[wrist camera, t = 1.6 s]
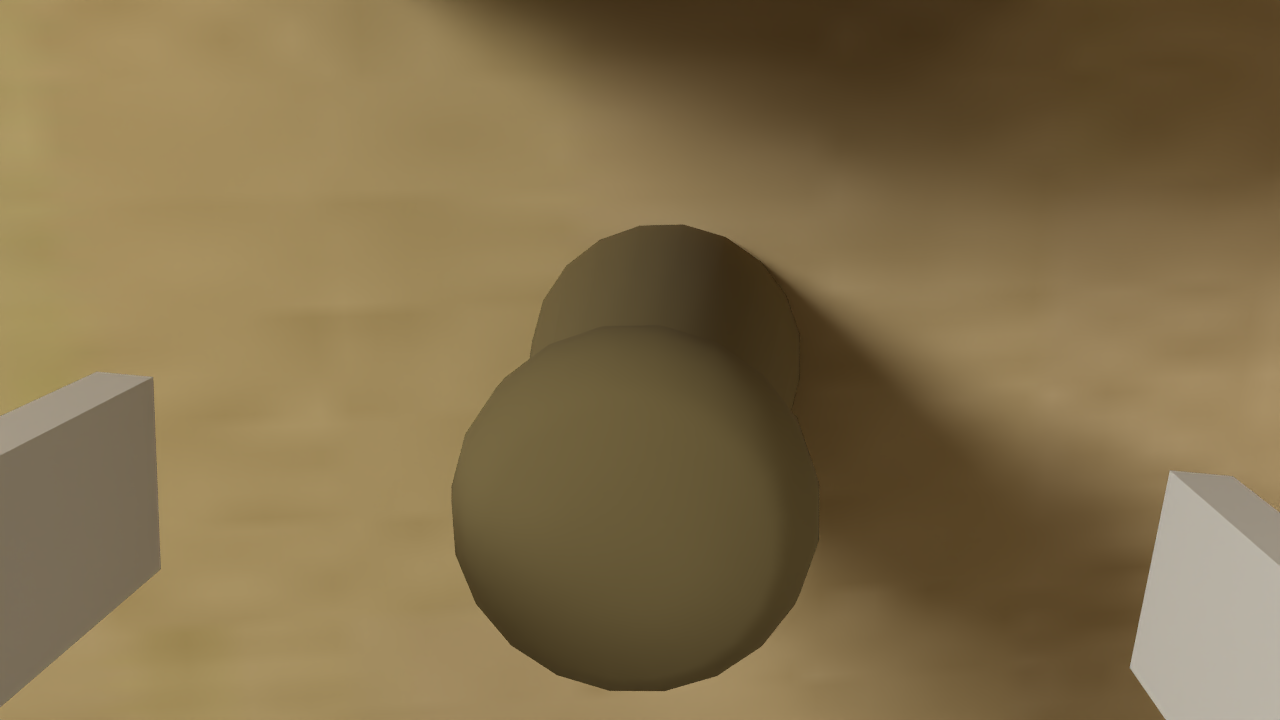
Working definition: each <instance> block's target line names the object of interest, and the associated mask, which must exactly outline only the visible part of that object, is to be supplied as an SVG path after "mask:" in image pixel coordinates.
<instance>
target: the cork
mask: <svg viewBox="0 0 1280 720" xmlns="http://www.w3.org/2000/svg"><path fill="white" fill-rule="evenodd" d="M799 378H800V335H799V332H798V329H797V326H796V323H795V320H794V317H793V314H792V311H791V308H790V305H789V302H788V299H787V296H786V295H785V293H784V292H783V291H782V289H781V288H780V287H779V285H778V284H777V283H776V281H775V280H774V279H773V277H772V276H771V275H770V273H769V272H768V271H767V270H766V268H765V267H764V266H763V264H762V263H761V262H760V261H759V260H757V259H756V258H755V257H753V256H752V255H750V254H749V253H747V252H746V251H744V250H743V249H742V248H740V247H739V246H737V245H736V244H734V243H733V242H731V241H730V240H729V239H727V238H726V237H723V236H720V235H716V234H713V233H710V232H706V231H703V230H700V229H696V228H693V227H690V226H686V225H651V226H638V227H635V228H632V229H630V230H627V231H624V232H621V233H618V234H616V235H613V236H610V237H607V238H604V239H601V240H599V241H598V242H597V243H595V244H594V245H593V246H592V247H590V248H589V249H588V250H586V251H585V252H584V253H583V254H581V255H580V256H579V257H577V258H576V259H575V260H573V261H572V262H571V263H570V264H568V265H567V266H566V267H565V269H564V270H563V272H562V273H561V275H560V276H559V278H558V279H557V281H556V282H555V284H554V285H553V287H552V288H551V290H550V291H549V293H548V294H547V296H546V297H545V299H544V300H543V304H542V307H541V311H540V315H539V318H538V322H537V326H536V329H535V333H534V337H533V341H532V347H531V353H530V359H529V360H528V361H526V362H525V363H524V364H522V365H521V366H520V367H518V368H517V369H516V370H515V371H513V372H512V373H511V374H509V375H508V376H507V377H505V378H504V379H503V381H502V382H501V383H500V384H499V385H498V387H497V388H496V389H495V391H494V392H493V394H492V395H491V397H490V398H489V400H488V401H487V403H486V404H485V406H484V407H483V409H482V410H481V411H480V413H479V414H478V416H477V417H476V419H475V420H474V422H473V423H472V425H471V426H470V428H469V429H468V431H467V432H466V434H465V437H464V441H463V445H462V449H461V453H460V456H459V460H458V464H457V468H456V472H455V476H454V479H453V483H452V514H453V527H454V540H455V553H456V557H457V559H458V562H459V564H460V567H461V569H462V571H463V574H464V576H465V578H466V581H467V583H468V586H469V588H470V590H471V593H472V595H473V598H474V600H475V602H476V604H477V606H478V607H479V608H480V609H481V610H482V611H483V613H484V614H485V615H486V616H487V617H488V619H489V620H490V621H491V622H492V623H493V624H494V626H495V627H496V628H497V629H498V630H499V632H500V633H501V634H502V635H503V636H504V637H505V639H506V640H507V641H508V642H509V643H510V644H511V646H513V647H515V648H516V649H518V650H519V651H521V652H522V653H524V654H525V655H527V656H528V657H530V658H532V659H533V660H535V661H536V662H538V663H539V664H541V665H542V666H544V667H545V668H547V669H549V670H550V671H552V672H553V673H555V674H556V675H559V676H562V677H566V678H569V679H572V680H576V681H579V682H582V683H586V684H589V685H592V686H596V687H599V688H602V689H606V690H609V691H666V690H670V689H673V688H677V687H680V686H684V685H687V684H690V683H694V682H697V681H701V680H704V679H708V678H711V677H715V676H717V675H719V674H720V673H722V672H723V671H725V670H726V669H728V668H729V667H731V666H732V665H734V664H736V663H737V662H739V661H740V660H742V659H743V658H745V657H746V656H748V655H749V654H751V653H752V652H754V651H755V650H757V649H758V648H760V647H761V646H762V645H763V644H764V643H765V641H766V640H767V639H768V638H769V636H770V635H771V634H772V633H773V631H774V630H775V629H776V628H777V626H778V625H779V624H780V623H781V621H782V620H783V619H784V618H785V616H786V615H787V614H788V612H789V611H790V610H791V609H792V607H793V606H794V605H795V603H796V601H797V598H798V596H799V594H800V592H801V589H802V586H803V583H804V580H805V578H806V575H807V572H808V569H809V566H810V563H811V561H812V558H813V555H814V552H815V549H816V546H817V544H818V541H819V482H818V479H817V475H816V472H815V469H814V466H813V463H812V460H811V457H810V455H809V452H808V449H807V446H806V443H805V440H804V437H803V434H802V431H801V428H800V425H799V422H798V419H797V418H796V416H795V415H794V414H793V412H792V411H791V410H792V406H793V402H794V398H795V394H796V390H797V386H798V382H799Z"/></svg>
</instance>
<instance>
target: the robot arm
mask: <svg viewBox="0 0 1280 720" xmlns="http://www.w3.org/2000/svg"><path fill="white" fill-rule="evenodd" d="M160 569H161V564H160V538H159V513H158V488H157V462H156V437H155V412H154V386H153V377H148V376H137V375H126V374H115V373H105V372H95V373H93V374H91V375H89V376H87V377H84V378H82V379H80V380H78V381H76V382H74V383H71V384H69V385H67V386H65V387H63V388H60V389H58V390H56V391H54V392H52V393H50V394H47V395H45V396H43V397H41V398H39V399H37V400H34V401H32V402H30V403H28V404H26V405H23V406H21V407H19V408H17V409H15V410H13V411H10V412H8V413H6V414H4V415H2V416H0V707H1V706H2V705H3V704H5V703H6V702H7V701H8V700H9V699H10V698H12V697H13V696H14V695H15V694H16V693H17V692H19V691H20V690H21V689H22V688H23V687H24V686H25V685H27V684H28V683H29V682H30V681H31V680H32V679H34V678H35V677H36V676H37V675H38V674H39V673H41V672H42V671H43V670H44V669H45V668H46V667H48V666H49V665H50V664H51V663H52V662H53V661H55V660H56V659H57V658H58V657H59V656H60V655H62V654H63V653H64V652H65V651H66V650H67V649H68V648H70V647H71V646H72V645H73V644H74V643H75V642H77V641H78V640H79V639H80V638H81V637H82V636H84V635H85V634H86V633H87V632H88V631H89V630H91V629H92V628H93V627H94V626H95V625H96V624H98V623H99V622H100V621H101V620H102V619H103V618H105V617H106V616H107V615H108V614H109V613H110V612H111V611H113V610H114V609H115V608H116V607H117V606H118V605H120V604H121V603H122V602H123V601H124V600H125V599H127V598H128V597H129V596H130V595H131V594H132V593H134V592H135V591H136V590H137V589H138V588H139V587H141V586H142V585H143V584H144V583H145V582H146V581H148V580H149V579H150V578H151V577H152V576H153V575H154V574H156V573H157V572H158V571H159V570H160ZM1130 669H1131V670H1132V672H1133V673H1134V675H1135V676H1136V678H1137V679H1138V680H1139V682H1140V683H1141V685H1142V686H1143V688H1144V689H1145V691H1146V692H1147V693H1148V695H1149V696H1150V698H1151V699H1152V701H1153V702H1154V704H1155V705H1156V706H1157V708H1158V709H1159V711H1160V712H1161V714H1162V715H1163V717H1164V718H1165V719H1166V720H1280V513H1279V512H1278V511H1277V510H1276V509H1274V508H1273V507H1272V506H1270V505H1269V504H1268V503H1267V502H1265V501H1264V500H1263V499H1261V498H1260V497H1259V496H1258V495H1256V494H1255V493H1254V492H1252V491H1251V490H1250V489H1248V488H1247V487H1246V486H1245V485H1243V484H1242V483H1241V482H1239V481H1238V480H1237V479H1236V478H1234V477H1233V476H1225V475H1214V474H1204V473H1193V472H1182V471H1171V470H1170V472H1169V477H1168V482H1167V487H1166V492H1165V497H1164V502H1163V507H1162V512H1161V517H1160V521H1159V526H1158V531H1157V536H1156V541H1155V546H1154V551H1153V556H1152V561H1151V566H1150V570H1149V575H1148V580H1147V585H1146V590H1145V595H1144V600H1143V605H1142V610H1141V615H1140V619H1139V624H1138V629H1137V634H1136V639H1135V644H1134V649H1133V654H1132V659H1131V664H1130Z"/></svg>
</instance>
